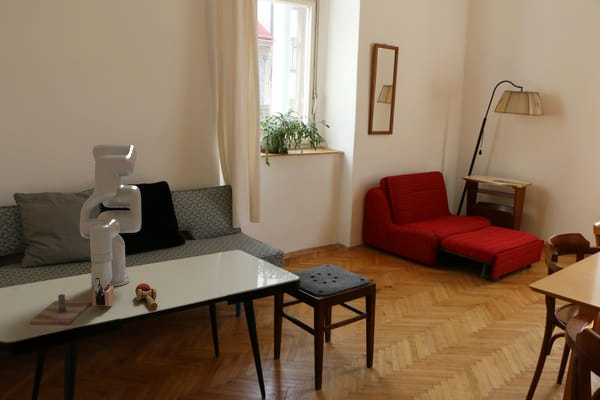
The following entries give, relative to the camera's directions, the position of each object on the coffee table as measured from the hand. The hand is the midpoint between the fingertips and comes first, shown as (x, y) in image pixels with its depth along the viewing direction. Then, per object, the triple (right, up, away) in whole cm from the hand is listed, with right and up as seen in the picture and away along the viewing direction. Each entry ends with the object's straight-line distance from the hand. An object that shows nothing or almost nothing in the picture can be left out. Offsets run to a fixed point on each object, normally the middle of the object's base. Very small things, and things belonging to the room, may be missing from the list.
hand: (103, 301), depth 202 cm
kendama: (+15, -2, +7) cm, 16 cm away
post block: (-13, -3, -7) cm, 15 cm away
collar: (0, -1, 0) cm, 1 cm away
